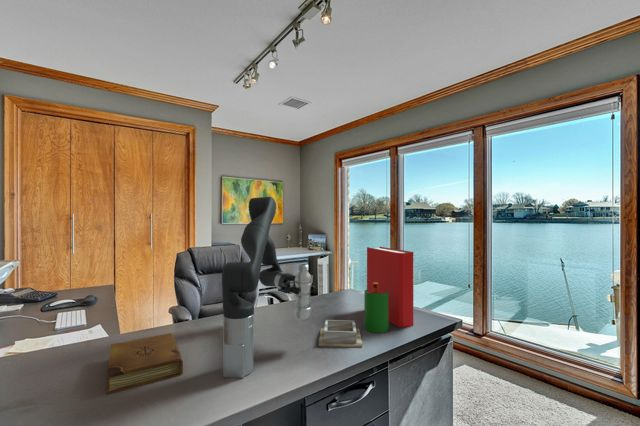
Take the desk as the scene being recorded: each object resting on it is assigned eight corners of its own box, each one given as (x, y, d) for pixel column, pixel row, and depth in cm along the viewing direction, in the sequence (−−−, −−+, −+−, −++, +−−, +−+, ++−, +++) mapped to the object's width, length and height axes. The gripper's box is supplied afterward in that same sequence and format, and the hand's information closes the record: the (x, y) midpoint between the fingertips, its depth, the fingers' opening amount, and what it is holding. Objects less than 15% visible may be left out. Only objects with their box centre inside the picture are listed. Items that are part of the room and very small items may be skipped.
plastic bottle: (296, 323, 106) (296, 266, 107) (292, 317, 113) (293, 263, 113) (313, 322, 108) (314, 265, 108) (309, 316, 115) (309, 263, 115)
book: (366, 309, 155) (366, 247, 156) (379, 307, 158) (380, 246, 159) (400, 327, 130) (400, 253, 130) (415, 325, 133) (415, 252, 134)
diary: (182, 377, 91) (182, 358, 91) (106, 396, 81) (106, 375, 81) (173, 348, 110) (173, 332, 110) (110, 361, 100) (111, 343, 100)
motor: (387, 325, 133) (387, 279, 133) (390, 333, 124) (390, 284, 124) (364, 324, 134) (364, 279, 134) (365, 332, 125) (365, 283, 125)
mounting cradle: (362, 347, 110) (362, 334, 110) (318, 346, 111) (318, 333, 111) (359, 330, 126) (359, 319, 126) (320, 329, 127) (321, 318, 127)
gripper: (270, 274, 119) (288, 282, 105) (302, 271, 127) (323, 278, 112) (269, 293, 119) (288, 303, 105) (302, 289, 127) (323, 298, 112)
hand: (306, 290), depth 109 cm, fingers closed on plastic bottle, 6 cm apart
